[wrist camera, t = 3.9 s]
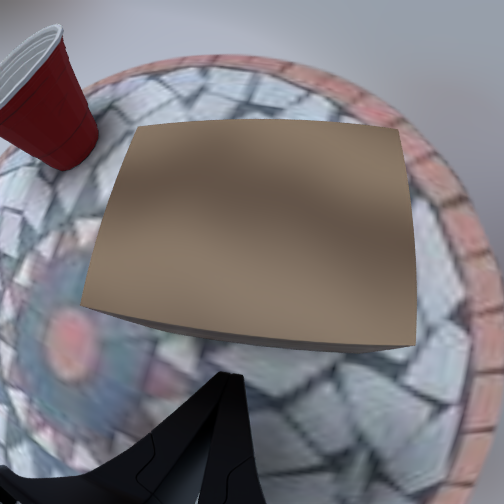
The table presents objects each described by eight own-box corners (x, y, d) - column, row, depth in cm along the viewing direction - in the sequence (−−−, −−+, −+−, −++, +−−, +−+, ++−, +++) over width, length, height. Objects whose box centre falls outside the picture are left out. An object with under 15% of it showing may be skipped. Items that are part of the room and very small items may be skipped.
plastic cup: (27, 209, 23) (-56, 144, 12) (50, 130, 27) (-6, 63, 16) (113, 177, 22) (26, 73, 11) (128, 96, 26) (78, 7, 15)
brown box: (359, 353, 15) (415, 345, 7) (166, 332, 17) (80, 305, 9) (363, 219, 18) (398, 129, 10) (191, 209, 20) (137, 126, 12)
